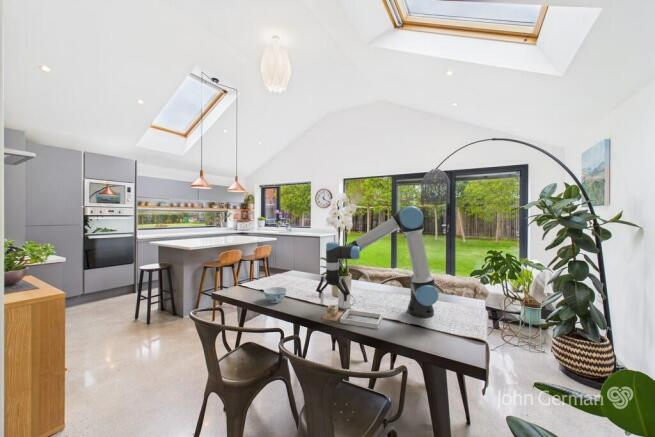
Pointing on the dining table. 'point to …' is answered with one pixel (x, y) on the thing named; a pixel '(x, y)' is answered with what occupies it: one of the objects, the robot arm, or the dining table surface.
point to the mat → (332, 317)
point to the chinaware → (275, 294)
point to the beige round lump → (332, 311)
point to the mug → (349, 299)
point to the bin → (361, 323)
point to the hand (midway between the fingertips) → (332, 305)
